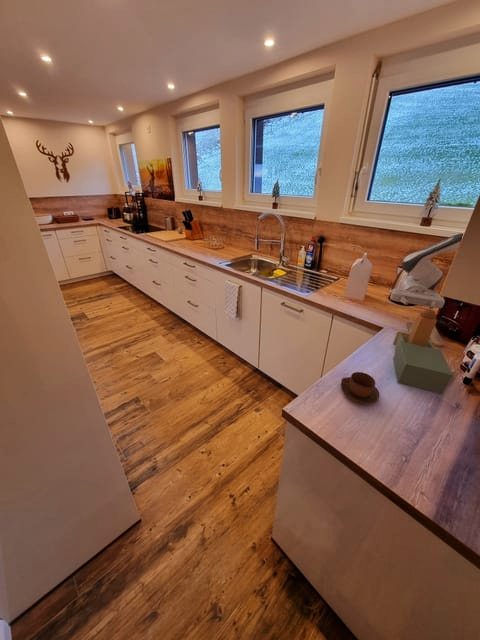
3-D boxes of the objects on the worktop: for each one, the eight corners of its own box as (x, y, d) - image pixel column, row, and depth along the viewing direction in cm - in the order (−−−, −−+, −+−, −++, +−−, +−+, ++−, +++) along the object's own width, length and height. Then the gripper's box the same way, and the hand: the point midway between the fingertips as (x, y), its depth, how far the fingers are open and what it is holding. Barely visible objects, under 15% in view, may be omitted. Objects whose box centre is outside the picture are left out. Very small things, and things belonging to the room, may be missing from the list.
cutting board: (433, 329, 129) (434, 326, 128) (443, 348, 114) (445, 345, 114) (406, 323, 133) (407, 321, 132) (412, 341, 118) (413, 339, 117)
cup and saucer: (347, 406, 83) (351, 392, 80) (334, 380, 93) (338, 367, 90) (384, 407, 83) (390, 393, 80) (368, 381, 93) (372, 367, 91)
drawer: (391, 338, 118) (396, 325, 115) (422, 344, 114) (428, 331, 111) (396, 362, 103) (402, 347, 99) (432, 370, 99) (440, 355, 96)
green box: (392, 358, 106) (399, 341, 102) (431, 367, 102) (440, 349, 98) (397, 383, 93) (406, 364, 89) (442, 394, 89) (453, 374, 85)
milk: (362, 300, 156) (375, 257, 144) (343, 296, 161) (353, 254, 149) (365, 294, 166) (377, 253, 153) (346, 290, 170) (356, 250, 158)
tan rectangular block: (417, 351, 108) (436, 308, 98) (420, 358, 104) (440, 313, 94) (404, 348, 109) (421, 305, 100) (405, 355, 105) (424, 311, 96)
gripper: (391, 283, 123) (394, 293, 112) (441, 290, 117) (450, 302, 106) (386, 295, 126) (389, 306, 115) (435, 303, 120) (444, 316, 109)
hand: (419, 305), depth 110 cm, fingers open, 8 cm apart
